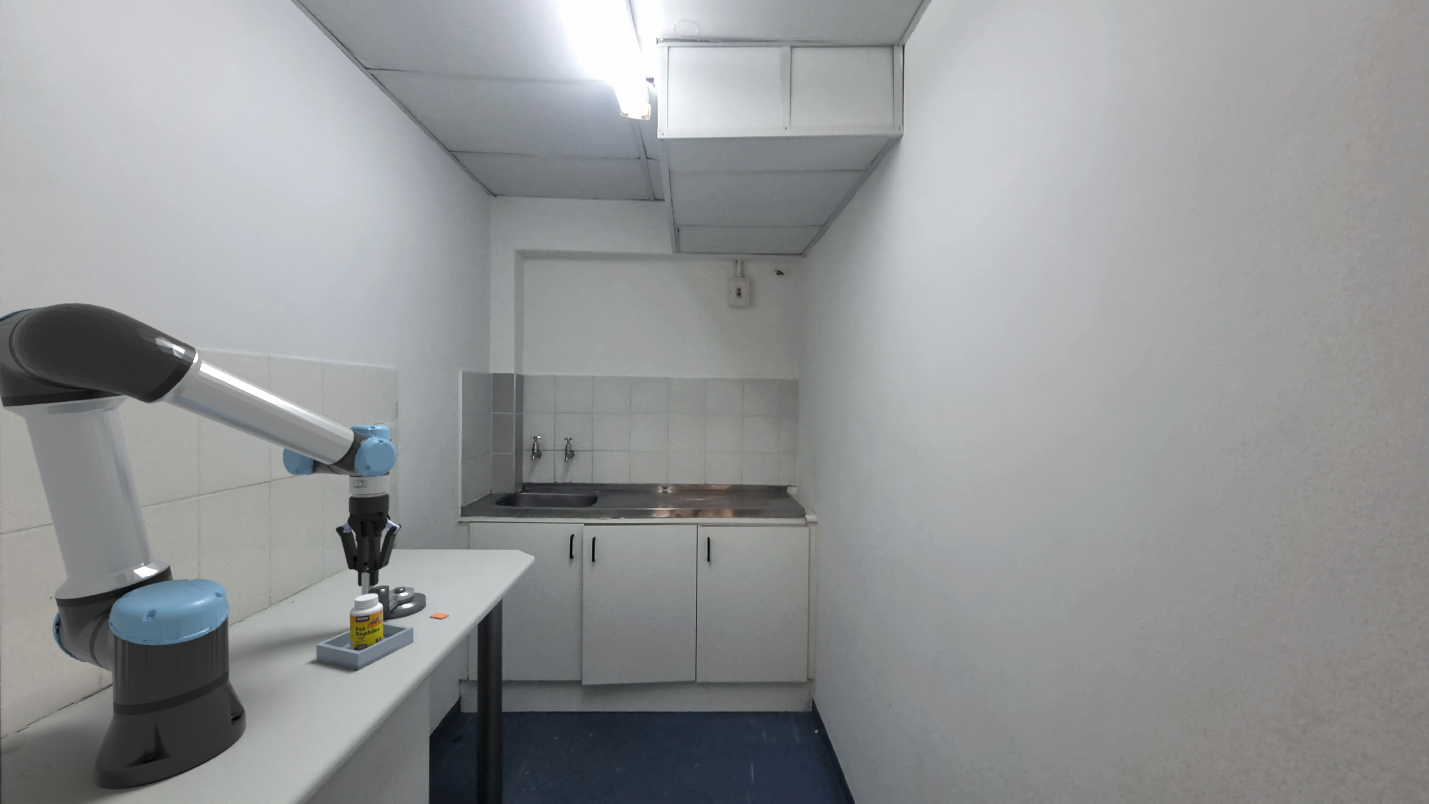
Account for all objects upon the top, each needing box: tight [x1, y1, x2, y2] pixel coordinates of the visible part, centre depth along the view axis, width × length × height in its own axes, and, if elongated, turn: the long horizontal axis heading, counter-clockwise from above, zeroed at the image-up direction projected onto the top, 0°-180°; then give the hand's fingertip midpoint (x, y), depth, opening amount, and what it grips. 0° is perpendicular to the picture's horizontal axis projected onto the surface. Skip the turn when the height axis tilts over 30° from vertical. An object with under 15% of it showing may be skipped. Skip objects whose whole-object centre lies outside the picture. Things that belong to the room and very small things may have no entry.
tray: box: [315, 621, 414, 671], centre depth 104 cm, size 12×12×3 cm
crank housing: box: [383, 592, 427, 621], centre depth 124 cm, size 11×11×2 cm
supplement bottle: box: [349, 594, 384, 651], centre depth 104 cm, size 6×6×10 cm
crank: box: [370, 584, 415, 618], centre depth 120 cm, size 14×6×6 cm, turn 7°
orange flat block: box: [429, 612, 450, 620], centre depth 120 cm, size 2×4×1 cm, turn 70°
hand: (368, 600), depth 115 cm, fingers closed
